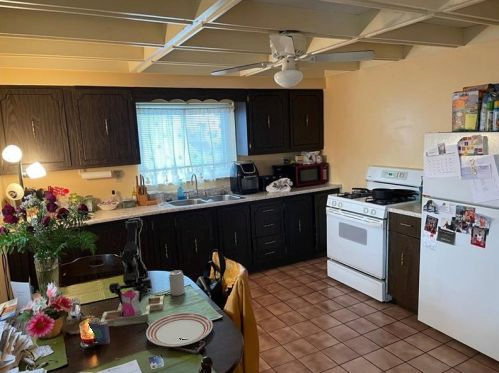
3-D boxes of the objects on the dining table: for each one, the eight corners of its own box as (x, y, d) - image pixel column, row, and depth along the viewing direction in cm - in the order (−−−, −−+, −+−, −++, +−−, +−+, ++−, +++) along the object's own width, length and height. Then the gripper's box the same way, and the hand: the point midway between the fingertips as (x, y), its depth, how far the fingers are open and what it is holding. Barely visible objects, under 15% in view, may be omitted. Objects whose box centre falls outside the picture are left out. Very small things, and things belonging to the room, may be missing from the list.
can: (186, 290, 201) (184, 269, 200) (182, 296, 194) (180, 274, 192) (173, 290, 202) (171, 269, 201) (168, 296, 195) (166, 274, 193)
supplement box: (132, 311, 178) (130, 289, 176) (141, 314, 175) (139, 291, 173) (123, 317, 173) (120, 294, 171) (132, 320, 170) (130, 296, 168)
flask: (111, 341, 155) (108, 317, 153) (107, 345, 152) (103, 321, 150) (92, 339, 157) (89, 315, 156) (88, 343, 154) (84, 319, 153)
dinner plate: (209, 314, 174) (208, 307, 173) (216, 345, 147) (216, 338, 146) (148, 324, 168) (147, 317, 168) (144, 358, 141) (144, 350, 141)
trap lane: (108, 307, 187) (108, 301, 187) (163, 299, 192) (163, 294, 191) (100, 328, 166) (99, 322, 166) (162, 319, 171) (161, 313, 170)
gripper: (107, 267, 172) (105, 300, 163) (148, 262, 176) (149, 294, 167) (112, 277, 181) (110, 308, 172) (151, 272, 185) (152, 303, 176)
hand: (130, 303), depth 171 cm, fingers closed on supplement box, 8 cm apart
